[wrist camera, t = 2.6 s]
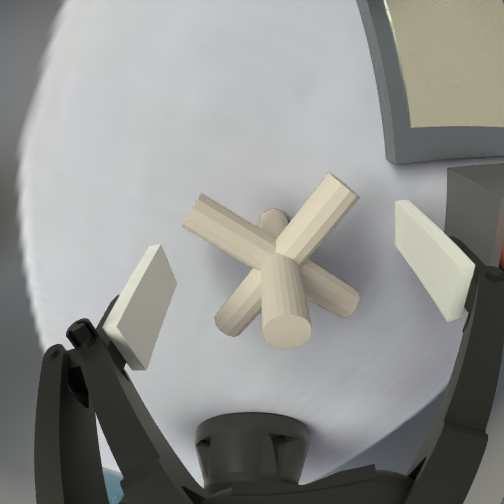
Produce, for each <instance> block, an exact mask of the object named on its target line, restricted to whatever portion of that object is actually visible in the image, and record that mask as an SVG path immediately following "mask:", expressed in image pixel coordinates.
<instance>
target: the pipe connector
mask: <svg viewBox="0 0 504 504" xmlns="http://www.w3.org/2000/svg"><path fill="white" fill-rule="evenodd" d="M358 199H359V196H358V195H357V194H356V193H355V192H354V191H353V190H351V189H350V188H349V187H348V186H347V185H346V184H344V183H343V182H342V181H341V180H339V179H338V178H337V177H336V176H334V175H333V174H331V173H330V172H329V173H328V174H327V175H326V177H325V178H324V179H323V181H322V182H321V183H320V184H319V186H318V187H317V188H316V190H315V191H314V192H313V193H312V195H311V196H310V197H309V198H308V200H307V201H306V202H305V204H304V205H303V206H302V207H301V209H300V210H299V211H298V212H297V214H296V215H295V216H294V217H293V219H292V220H291V221H290V222H289V224H288V219H287V216H286V215H285V213H283V212H282V211H281V210H278V209H270V210H267V211H266V212H264V213H263V214H262V216H261V218H260V229H259V228H258V227H256V226H255V225H253V224H251V223H250V222H248V221H246V220H245V219H243V218H242V217H240V216H238V215H237V214H235V213H233V212H232V211H230V210H228V209H227V208H225V207H224V206H222V205H220V204H219V203H217V202H215V201H214V200H212V199H210V198H209V197H207V196H205V195H204V194H202V193H201V194H200V196H199V197H198V199H197V201H196V202H195V204H194V205H193V207H192V209H191V210H190V212H189V214H188V216H187V217H186V219H185V221H184V223H183V224H182V226H181V227H183V228H185V229H186V230H188V231H190V232H192V233H193V234H195V235H197V236H198V237H200V238H202V239H204V240H205V241H207V242H209V243H210V244H212V245H214V246H216V247H217V248H219V249H221V250H223V251H224V252H226V253H228V254H229V255H231V256H233V257H235V258H236V259H238V260H240V261H242V262H243V263H245V264H247V265H249V266H250V267H252V268H253V269H252V270H251V271H250V273H249V274H248V275H247V276H246V278H245V279H244V280H243V281H242V283H241V284H240V285H239V286H238V288H237V289H236V290H235V291H234V293H233V294H232V295H231V296H230V298H229V299H228V300H227V301H226V302H225V304H224V305H223V306H222V307H221V309H220V310H219V311H218V312H217V314H216V315H215V317H214V319H215V324H216V325H217V327H218V328H219V330H220V331H222V332H223V333H224V334H226V335H228V336H232V337H235V336H238V335H240V334H241V332H242V331H243V330H244V329H245V328H246V327H247V326H248V325H249V324H250V323H251V322H252V321H253V320H254V319H255V317H256V316H257V315H258V314H259V313H260V312H261V311H262V337H263V339H264V341H265V342H266V343H267V344H268V345H269V346H271V347H273V348H276V349H282V350H287V349H293V348H297V347H299V346H301V345H303V344H304V343H306V342H307V340H308V339H309V338H310V336H311V334H312V327H311V322H310V317H309V313H308V308H307V303H306V298H307V299H308V300H310V301H312V302H314V303H315V304H317V305H319V306H321V307H323V308H324V309H326V310H328V311H330V312H331V313H333V314H335V315H337V316H339V317H340V318H347V317H348V316H350V315H351V314H353V312H354V311H355V309H356V308H357V306H358V303H359V300H360V297H359V292H358V291H356V290H355V289H354V288H352V287H351V286H349V285H348V284H346V283H345V282H343V281H341V280H340V279H338V278H337V277H335V276H334V275H332V274H331V273H329V272H328V271H326V270H324V269H323V268H321V267H320V266H318V265H317V264H315V263H313V262H312V261H310V260H309V257H310V256H311V255H312V254H313V253H314V252H315V250H316V249H317V248H318V247H319V246H320V245H321V243H322V242H323V241H324V240H325V239H326V238H327V236H328V235H329V234H330V233H331V232H332V231H333V229H334V228H335V227H336V226H337V225H338V223H339V222H340V221H341V220H342V219H343V217H344V216H345V215H346V214H347V213H348V211H349V210H350V209H351V208H352V207H353V205H354V204H355V203H356V202H357V200H358Z"/></svg>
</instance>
